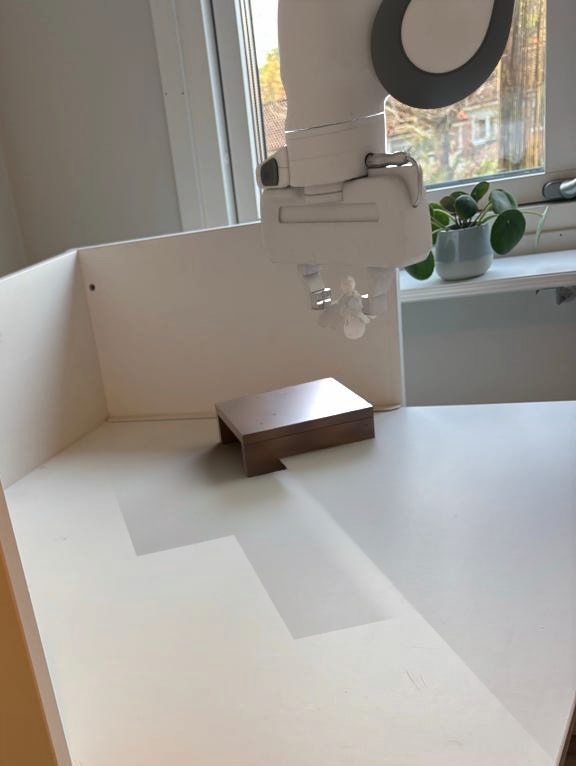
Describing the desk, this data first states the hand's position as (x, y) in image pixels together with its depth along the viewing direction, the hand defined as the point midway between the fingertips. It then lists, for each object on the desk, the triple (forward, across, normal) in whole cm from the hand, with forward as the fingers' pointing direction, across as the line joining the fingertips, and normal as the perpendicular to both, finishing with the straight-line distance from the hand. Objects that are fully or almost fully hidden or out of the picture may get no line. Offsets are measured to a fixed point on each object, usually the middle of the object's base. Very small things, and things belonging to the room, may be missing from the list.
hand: (346, 311), depth 95 cm
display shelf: (+18, +15, -3) cm, 23 cm away
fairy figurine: (+2, 0, 0) cm, 2 cm away
